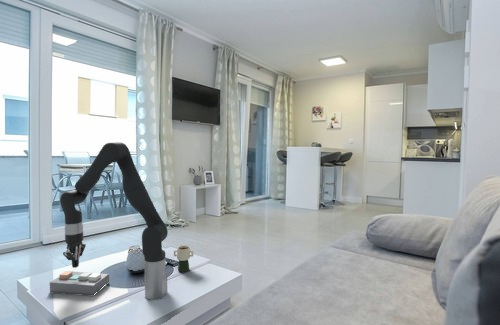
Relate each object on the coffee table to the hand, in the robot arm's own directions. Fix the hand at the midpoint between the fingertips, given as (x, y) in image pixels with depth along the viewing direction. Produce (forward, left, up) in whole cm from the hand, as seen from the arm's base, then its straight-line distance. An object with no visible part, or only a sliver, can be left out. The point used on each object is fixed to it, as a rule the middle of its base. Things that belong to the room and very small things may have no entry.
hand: (75, 266), depth 141 cm
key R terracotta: (+5, 0, -7) cm, 9 cm away
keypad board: (-2, 0, -10) cm, 11 cm away
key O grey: (-5, 0, -8) cm, 9 cm away
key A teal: (0, 0, -9) cm, 9 cm away
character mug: (-45, -26, -11) cm, 53 cm away
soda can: (-17, -25, -11) cm, 32 cm away
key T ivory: (-10, 0, -7) cm, 12 cm away
